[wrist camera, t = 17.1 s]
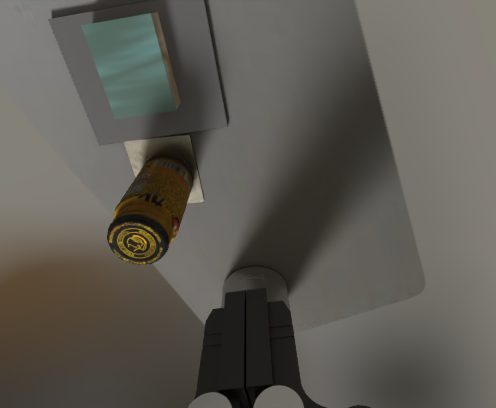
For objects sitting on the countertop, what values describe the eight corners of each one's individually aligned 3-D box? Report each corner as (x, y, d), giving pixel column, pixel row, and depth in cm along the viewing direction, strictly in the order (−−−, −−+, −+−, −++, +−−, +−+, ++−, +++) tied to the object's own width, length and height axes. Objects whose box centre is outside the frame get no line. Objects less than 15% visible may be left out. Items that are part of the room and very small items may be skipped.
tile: (80, 25, 28) (115, 119, 32) (150, 13, 27) (176, 110, 31) (92, 23, 30) (123, 112, 34) (157, 12, 29) (180, 103, 33)
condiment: (145, 206, 40) (110, 276, 30) (124, 140, 36) (74, 196, 26) (204, 200, 40) (188, 269, 30) (190, 133, 36) (166, 187, 25)
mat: (227, 125, 35) (227, 126, 34) (101, 143, 36) (99, 145, 36) (202, -9, 29) (202, -9, 28) (51, 18, 30) (48, 19, 29)
